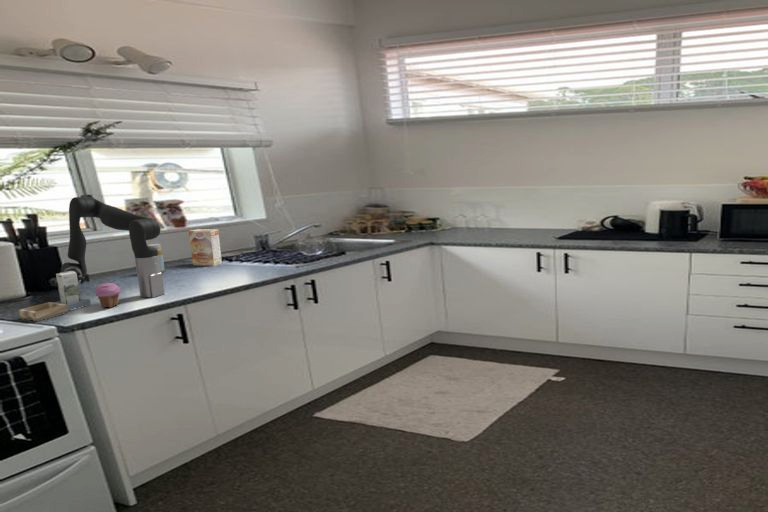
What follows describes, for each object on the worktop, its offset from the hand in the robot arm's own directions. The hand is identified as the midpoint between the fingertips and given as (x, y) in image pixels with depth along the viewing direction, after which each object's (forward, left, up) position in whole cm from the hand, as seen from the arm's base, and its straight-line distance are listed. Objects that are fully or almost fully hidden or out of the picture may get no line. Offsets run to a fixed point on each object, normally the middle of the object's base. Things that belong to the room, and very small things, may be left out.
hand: (69, 283), depth 219 cm
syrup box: (-7, +5, -9) cm, 12 cm away
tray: (-9, +17, -9) cm, 21 cm away
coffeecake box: (+6, -80, -9) cm, 81 cm away
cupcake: (-23, -1, -9) cm, 24 cm away
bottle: (+16, -55, -9) cm, 58 cm away
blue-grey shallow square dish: (-7, +5, -9) cm, 12 cm away
